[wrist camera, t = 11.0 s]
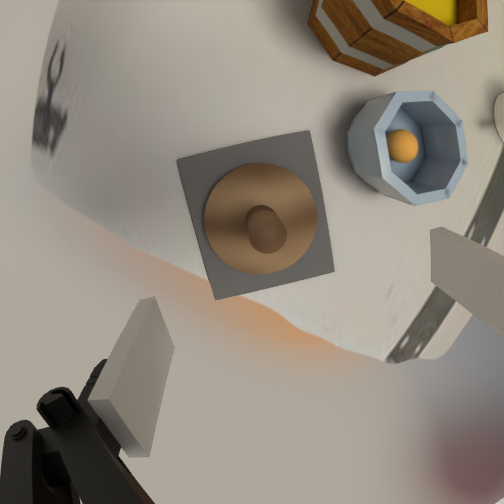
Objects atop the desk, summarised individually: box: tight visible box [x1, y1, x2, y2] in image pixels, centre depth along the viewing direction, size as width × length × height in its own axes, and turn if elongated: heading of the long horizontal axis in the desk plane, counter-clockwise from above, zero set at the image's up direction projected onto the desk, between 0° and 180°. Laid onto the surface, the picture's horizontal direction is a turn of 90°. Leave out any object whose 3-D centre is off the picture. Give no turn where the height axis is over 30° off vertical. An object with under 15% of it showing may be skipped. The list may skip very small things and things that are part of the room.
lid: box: [204, 163, 317, 274], centre depth 30 cm, size 12×12×7 cm
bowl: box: [346, 91, 468, 206], centre depth 29 cm, size 10×10×8 cm
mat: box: [177, 130, 335, 300], centre depth 34 cm, size 16×14×1 cm
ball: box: [386, 129, 418, 163], centre depth 29 cm, size 4×4×4 cm
